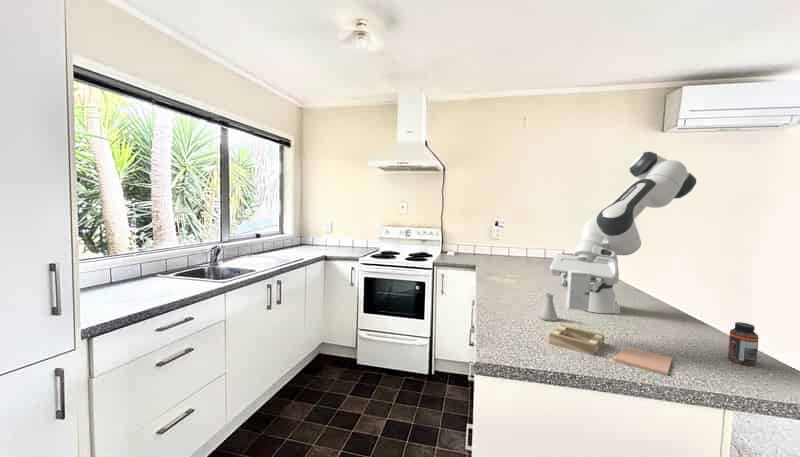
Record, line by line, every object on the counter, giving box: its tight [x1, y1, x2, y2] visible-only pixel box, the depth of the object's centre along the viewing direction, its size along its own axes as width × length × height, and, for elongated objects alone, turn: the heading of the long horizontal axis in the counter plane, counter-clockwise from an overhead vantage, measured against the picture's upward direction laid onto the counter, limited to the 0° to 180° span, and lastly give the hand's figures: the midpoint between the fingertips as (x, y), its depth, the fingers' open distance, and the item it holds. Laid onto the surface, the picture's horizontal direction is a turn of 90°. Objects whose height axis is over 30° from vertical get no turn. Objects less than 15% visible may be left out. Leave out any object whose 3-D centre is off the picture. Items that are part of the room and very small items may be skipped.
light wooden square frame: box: [548, 324, 605, 356], centre depth 111 cm, size 13×13×3 cm
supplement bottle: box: [727, 321, 760, 367], centre depth 99 cm, size 6×6×11 cm
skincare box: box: [565, 270, 591, 312], centre depth 110 cm, size 6×4×12 cm
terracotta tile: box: [614, 346, 673, 377], centre depth 99 cm, size 13×12×1 cm
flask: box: [538, 293, 559, 322], centre depth 136 cm, size 7×7×10 cm
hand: (577, 288), depth 110 cm, fingers closed on skincare box, 7 cm apart
